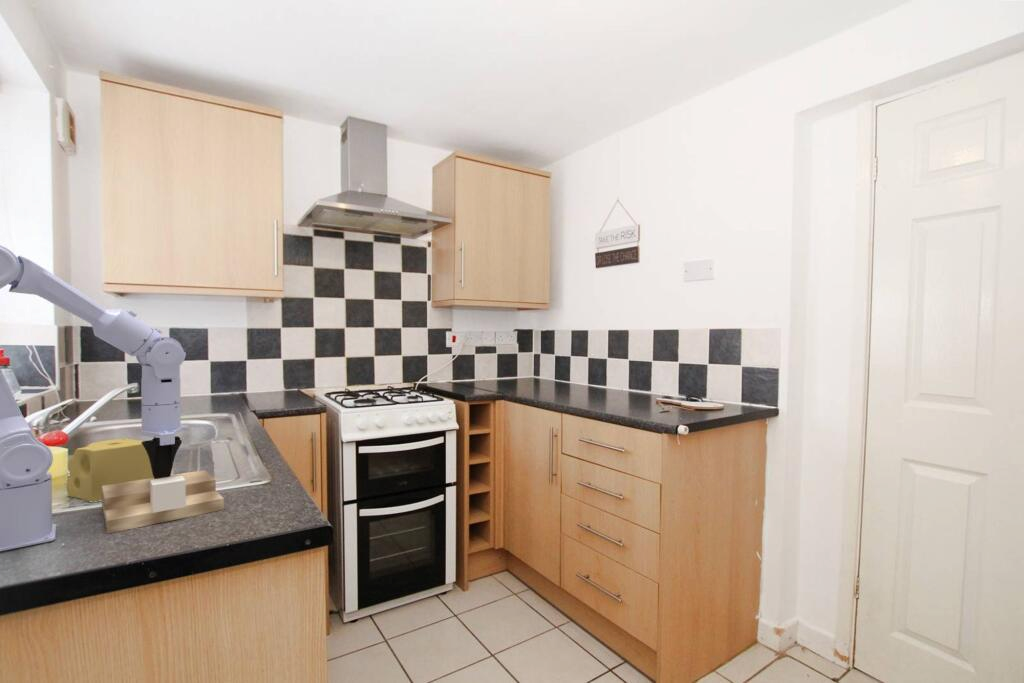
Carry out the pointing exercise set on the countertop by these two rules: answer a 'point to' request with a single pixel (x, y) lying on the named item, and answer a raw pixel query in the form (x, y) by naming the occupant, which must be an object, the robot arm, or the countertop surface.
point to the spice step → (132, 502)
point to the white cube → (167, 493)
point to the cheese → (106, 467)
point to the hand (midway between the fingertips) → (161, 479)
